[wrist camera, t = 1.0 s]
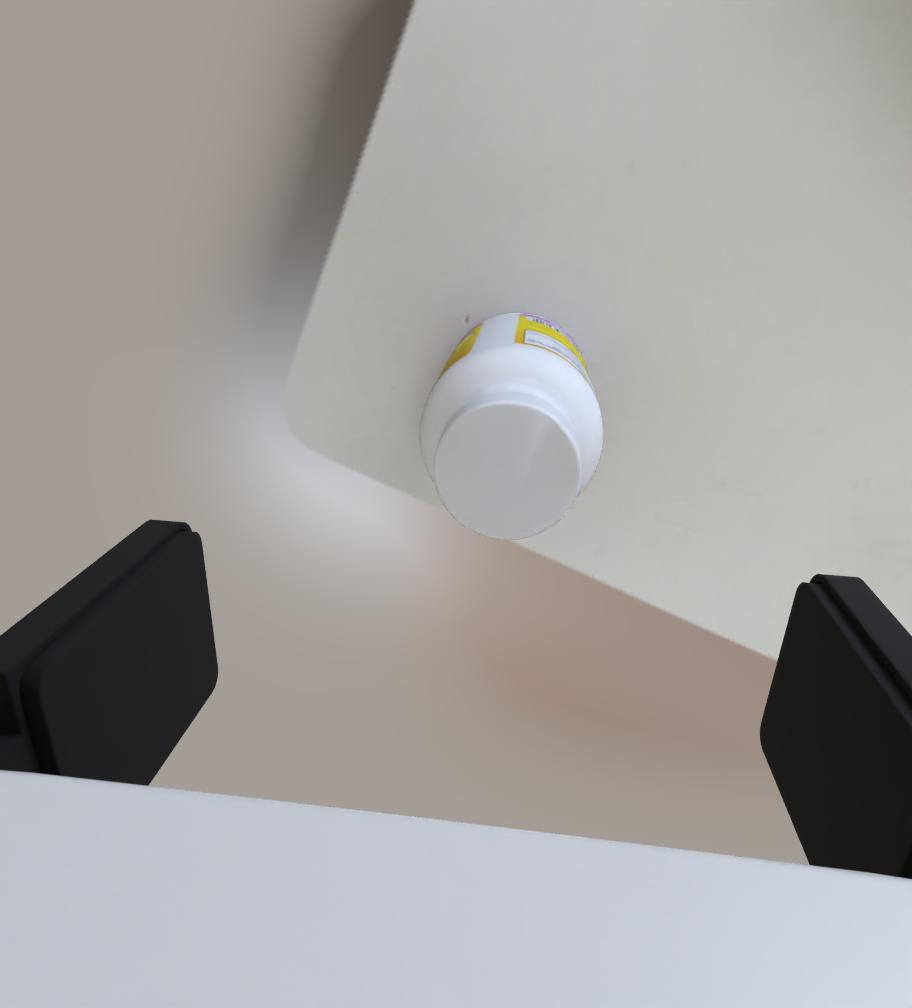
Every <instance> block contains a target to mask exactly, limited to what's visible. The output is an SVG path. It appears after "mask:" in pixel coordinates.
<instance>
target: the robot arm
mask: <svg viewBox="0 0 912 1008" xmlns="http://www.w3.org/2000/svg"><path fill="white" fill-rule="evenodd" d="M217 677H218V664H217V657H216V649H215V641H214V633H213V625H212V618H211V610H210V603H209V595H208V586H207V579H206V571H205V563H204V555H203V547H202V541H201V537H200V535H199V534H198V533H197V532H192V530H191V528H190V526H189V525H188V524H187V523H185V522H172V521H160V520H149V521H146V522H145V523H144V524H143V525H141V526H140V527H139V528H137V529H136V530H135V531H133V532H132V533H131V534H130V535H128V536H127V537H126V538H125V539H123V540H122V541H121V542H119V543H118V544H117V545H116V546H114V547H113V548H112V549H111V550H109V551H108V552H107V553H105V554H104V555H103V556H102V557H100V558H99V559H98V560H97V561H95V562H94V563H93V564H91V565H90V566H89V567H87V568H86V569H85V570H84V571H82V572H81V573H80V574H79V575H77V576H76V577H75V578H73V579H72V580H71V581H70V582H68V583H67V584H66V585H65V586H63V587H62V588H61V589H59V590H58V591H57V592H56V593H54V594H53V595H52V596H50V597H49V598H48V599H47V600H45V601H44V602H43V603H42V604H40V605H39V606H38V607H36V608H35V609H34V610H33V611H31V612H30V613H29V614H27V615H26V616H25V617H24V618H22V619H21V620H20V621H19V622H17V623H16V624H15V625H13V626H12V627H11V628H10V629H8V630H7V631H6V632H4V633H3V634H2V635H1V636H0V1008H912V636H911V635H910V634H909V633H908V632H907V630H906V629H905V628H904V627H903V626H902V625H901V624H900V622H899V621H898V620H897V619H896V618H895V617H894V616H893V614H892V613H891V612H890V611H889V610H888V609H887V608H886V606H885V605H884V604H883V603H882V602H881V601H880V599H879V598H878V597H877V596H876V595H875V594H874V593H873V591H872V590H871V589H870V588H869V587H868V586H867V585H866V583H865V582H864V581H863V580H862V579H860V578H859V577H847V576H834V575H822V574H817V575H815V576H813V578H812V579H811V581H810V583H804V582H803V583H801V584H800V585H799V586H798V588H797V591H796V594H795V598H794V601H793V605H792V609H791V613H790V616H789V620H788V624H787V628H786V631H785V635H784V639H783V643H782V646H781V650H780V654H779V658H778V662H777V666H776V669H775V673H774V677H773V680H772V684H771V688H770V692H769V695H768V699H767V703H766V707H765V710H764V715H763V718H762V722H761V727H760V740H761V746H762V749H763V752H764V755H765V757H766V759H767V762H768V764H769V767H770V769H771V771H772V774H773V777H774V779H775V781H776V784H777V786H778V789H779V791H780V794H781V796H782V798H783V801H784V803H785V806H786V808H787V810H788V813H789V815H790V818H791V820H792V823H793V825H794V828H795V830H796V832H797V835H798V837H799V840H800V842H801V845H802V847H803V849H804V852H805V854H806V857H807V859H808V862H809V864H810V865H804V864H796V863H787V862H780V861H772V860H763V859H756V858H748V857H740V856H732V855H724V854H716V853H708V852H700V851H692V850H683V849H675V848H668V847H659V846H651V845H644V844H634V843H627V842H619V841H611V840H603V839H594V838H586V837H578V836H569V835H561V834H553V833H545V832H536V831H528V830H520V829H511V828H503V827H494V826H486V825H478V824H470V823H462V822H454V821H444V820H437V819H429V818H419V817H412V816H403V815H394V814H386V813H378V812H369V811H360V810H351V809H342V808H335V807H326V806H318V805H309V804H300V803H292V802H282V801H275V800H266V799H258V798H250V797H242V796H233V795H225V794H215V793H207V792H198V791H189V790H180V789H171V788H162V787H154V786H148V785H149V784H150V783H151V781H152V780H153V778H154V777H155V775H156V774H157V772H158V771H159V769H160V768H161V766H162V765H163V763H164V762H165V761H166V759H167V758H168V756H169V755H170V753H171V752H172V750H173V749H174V747H175V746H176V744H177V743H178V742H179V740H180V739H181V737H182V736H183V734H184V733H185V731H186V730H187V729H188V727H189V726H190V724H191V722H192V721H193V720H194V718H195V717H196V715H197V714H198V712H199V711H200V710H201V708H202V707H203V705H204V704H205V702H206V701H207V699H208V698H209V696H210V695H211V694H212V692H213V690H214V688H215V685H216V682H217Z"/></svg>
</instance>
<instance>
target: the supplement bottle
mask: <svg viewBox="0 0 912 1008" xmlns="http://www.w3.org/2000/svg"><path fill="white" fill-rule="evenodd" d="M420 447H421V453H422V456H423V459H424V463H425V466H426V468H427V471H428V473H429V474H430V476H431V478H432V480H433V482H434V483H435V486H436V489H437V492H438V494H439V497H440V499H441V501H442V503H443V504H444V506H445V507H446V509H447V510H448V511H449V512H450V514H451V515H452V516H453V517H454V518H455V519H456V520H457V521H458V522H459V523H461V524H462V525H463V526H465V527H467V528H468V529H470V530H472V531H474V532H476V533H478V534H480V535H483V536H486V537H490V538H495V539H504V540H514V539H522V538H527V537H530V536H534V535H536V534H539V533H541V532H543V531H545V530H547V529H548V528H550V527H552V526H553V525H554V524H556V523H557V522H558V521H559V520H561V518H562V517H563V516H564V515H565V514H566V513H567V511H568V510H569V509H570V507H571V506H572V504H573V503H574V501H575V499H576V498H577V497H578V496H579V495H580V494H581V492H582V491H583V490H584V489H585V488H586V486H587V485H588V483H589V482H590V480H591V479H592V477H593V475H594V473H595V471H596V469H597V466H598V464H599V460H600V457H601V453H602V447H603V423H602V417H601V412H600V408H599V404H598V401H597V398H596V395H595V392H594V389H593V386H592V383H591V380H590V376H589V374H588V370H587V367H586V364H585V362H584V359H583V357H582V354H581V352H580V350H579V349H578V347H577V345H576V344H575V343H574V341H573V340H572V339H571V337H570V336H569V335H568V334H567V333H566V332H565V331H564V330H563V329H561V328H560V327H559V326H558V325H556V324H555V323H553V322H551V321H549V320H547V319H545V318H543V317H540V316H537V315H533V314H527V313H507V314H501V315H498V316H495V317H492V318H489V319H487V320H485V321H483V322H481V323H480V324H478V325H477V326H475V327H474V328H473V329H472V330H471V331H469V332H468V333H467V334H466V335H465V336H464V338H463V339H462V340H461V341H460V343H459V344H458V346H457V347H456V349H455V350H454V352H453V354H452V355H451V357H450V359H449V361H448V362H447V364H446V366H445V368H444V370H443V372H442V373H441V375H440V377H439V379H438V380H437V382H436V384H435V385H434V387H433V389H432V390H431V392H430V394H429V396H428V398H427V401H426V403H425V406H424V409H423V413H422V416H421V422H420Z"/></svg>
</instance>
